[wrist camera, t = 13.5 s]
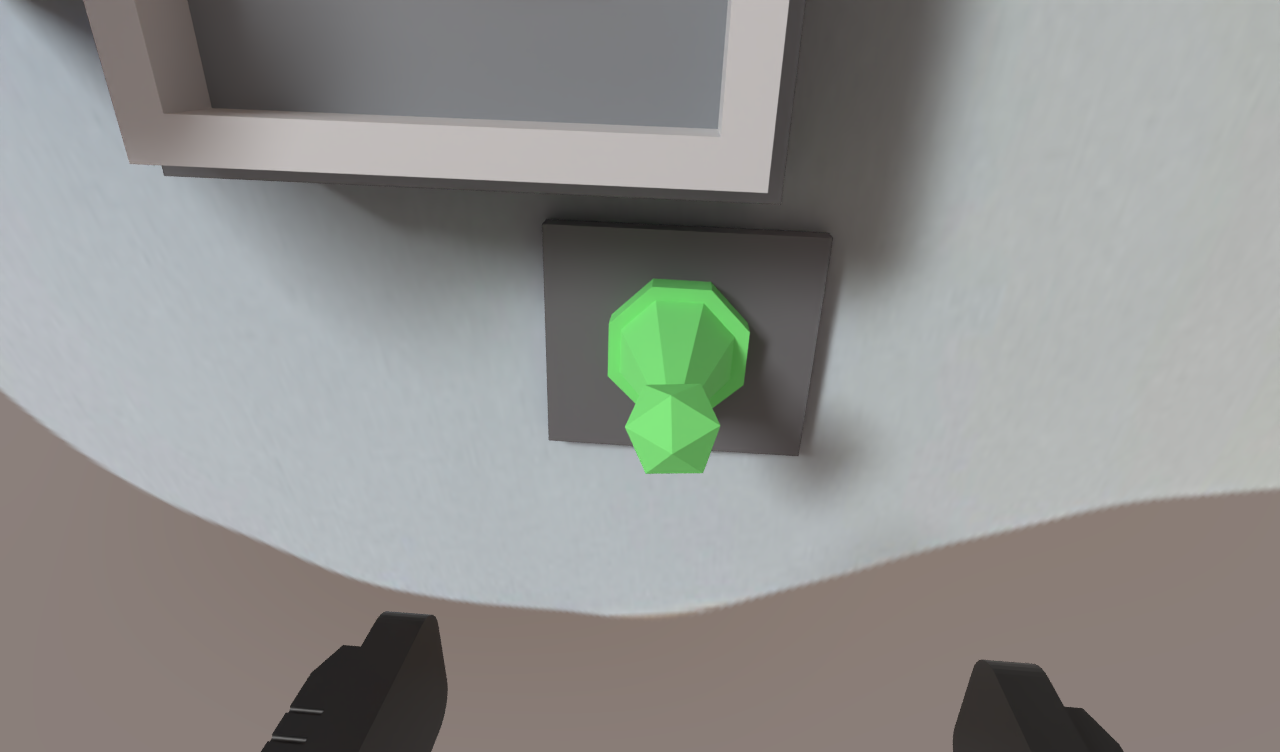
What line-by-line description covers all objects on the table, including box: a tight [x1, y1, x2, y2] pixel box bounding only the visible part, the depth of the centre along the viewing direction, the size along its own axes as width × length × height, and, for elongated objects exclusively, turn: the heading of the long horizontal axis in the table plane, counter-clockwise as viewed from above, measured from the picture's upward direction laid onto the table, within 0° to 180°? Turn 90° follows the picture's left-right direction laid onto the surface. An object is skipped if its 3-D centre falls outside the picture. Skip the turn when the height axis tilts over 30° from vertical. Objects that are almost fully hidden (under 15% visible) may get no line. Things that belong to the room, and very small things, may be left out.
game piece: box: [608, 279, 750, 474], centre depth 17 cm, size 4×4×6 cm
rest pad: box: [542, 219, 833, 456], centre depth 20 cm, size 8×7×1 cm
